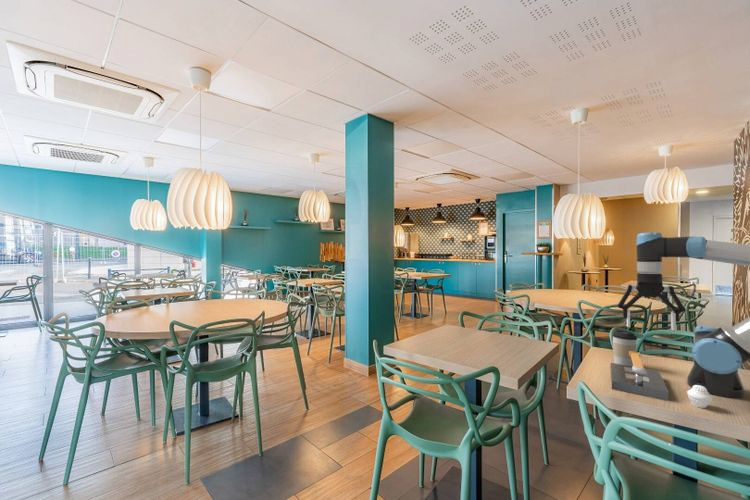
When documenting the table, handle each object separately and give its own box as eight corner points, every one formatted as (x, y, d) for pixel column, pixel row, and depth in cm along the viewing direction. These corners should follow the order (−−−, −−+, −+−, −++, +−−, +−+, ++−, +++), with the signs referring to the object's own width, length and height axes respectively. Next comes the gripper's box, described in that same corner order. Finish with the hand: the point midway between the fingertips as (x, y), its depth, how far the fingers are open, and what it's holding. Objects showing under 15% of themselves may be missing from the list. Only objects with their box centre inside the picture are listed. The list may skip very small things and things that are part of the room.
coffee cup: (606, 361, 156) (607, 329, 156) (624, 361, 157) (625, 328, 157) (622, 368, 147) (623, 334, 147) (641, 368, 148) (642, 334, 148)
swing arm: (640, 357, 141) (640, 352, 141) (646, 375, 120) (646, 370, 120) (628, 355, 143) (628, 350, 143) (632, 372, 123) (632, 367, 123)
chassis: (658, 378, 137) (659, 361, 137) (668, 400, 117) (668, 380, 117) (610, 369, 146) (610, 353, 146) (611, 388, 126) (612, 370, 126)
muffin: (692, 408, 112) (693, 387, 112) (682, 400, 117) (683, 380, 117) (716, 411, 110) (717, 390, 109) (705, 403, 115) (706, 382, 115)
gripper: (689, 273, 128) (690, 329, 127) (609, 271, 140) (609, 323, 140) (696, 274, 121) (697, 333, 121) (611, 272, 133) (612, 327, 133)
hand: (650, 328), depth 130 cm, fingers open, 13 cm apart
